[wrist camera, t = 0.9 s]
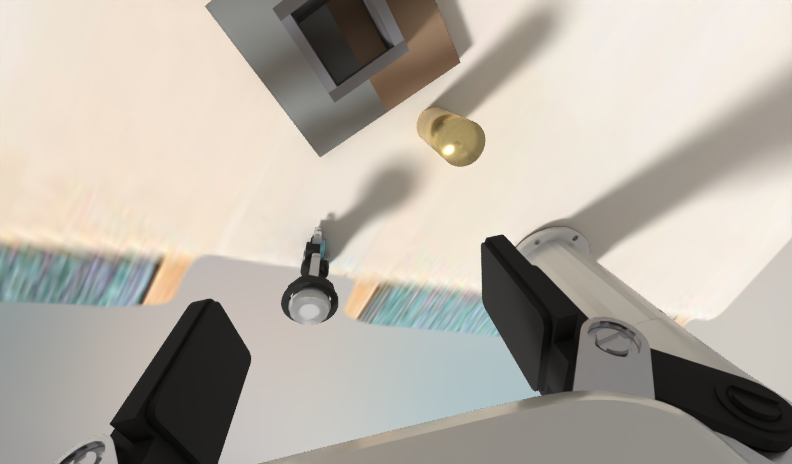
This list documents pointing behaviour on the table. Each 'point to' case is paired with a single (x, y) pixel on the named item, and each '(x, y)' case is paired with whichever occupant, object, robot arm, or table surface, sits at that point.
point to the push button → (311, 287)
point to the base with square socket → (338, 57)
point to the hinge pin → (451, 136)
